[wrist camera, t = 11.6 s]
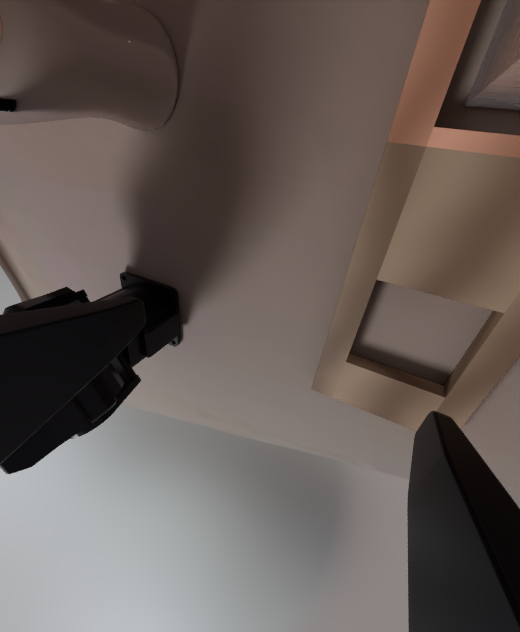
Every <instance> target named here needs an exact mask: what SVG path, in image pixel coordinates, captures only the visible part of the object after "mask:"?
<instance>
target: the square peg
mask: <svg viewBox="0 0 520 632" xmlns="http://www.w3.org/2000/svg"><path fill="white" fill-rule="evenodd" d="M464 106H465V107H478V108H491V109H504V110H517V111H520V0H507V2H506V5H505V7H504V10H503V12H502V15H501V17H500V20H499V22H498V24H497V27H496V29H495V32H494V34H493V37H492V39H491V42H490V44H489V47H488V49H487V51H486V54H485V56H484V59H483V61H482V64H481V66H480V69H479V71H478V73H477V76H476V78H475V81H474V83H473V86H472V88H471V91H470V93H469V96H468V98H467V100H466V103H465V105H464Z"/></svg>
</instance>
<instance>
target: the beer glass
mask: <svg viewBox="0 0 520 632" xmlns="http://www.w3.org/2000/svg"><path fill="white" fill-rule="evenodd" d="M177 92H178V69H177V62H176V57H175V53H174V50H173V46H172V44H171V41H170V39H169V37H168V35H167V33H166V31H165V29H164V28H163V26H162V25H161V23H160V22H159V21H158V20H157V18H156V17H155V16H154V15H153V14H151V13H150V12H149V11H147V10H146V9H144V8H141V7H139V6H136V5H132V4H127V3H122V2H117V1H113V0H0V125H10V124H28V123H38V122H48V121H57V120H66V119H76V118H103V119H108V120H112V121H115V122H118V123H121V124H123V125H126V126H128V127H131V128H134V129H137V130H141V131H152V130H155V129H158V128H159V127H161V126H162V125H163V124H164V123H165V122H166V121H167V120H168V118H169V117H170V115H171V113H172V111H173V109H174V106H175V102H176V98H177Z"/></svg>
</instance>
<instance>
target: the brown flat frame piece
mask: <svg viewBox="0 0 520 632" xmlns="http://www.w3.org/2000/svg"><path fill="white" fill-rule="evenodd" d="M480 2H481V0H430V3H429V6H428V9H427V12H426V16H425V19H424V22H423V25H422V29H421V32H420V35H419V39H418V42H417V45H416V48H415V52H414V55H413V58H412V61H411V65H410V68H409V71H408V74H407V78H406V81H405V84H404V87H403V91H402V94H401V97H400V101H399V104H398V107H397V110H396V114H395V117H394V120H393V123H392V127H391V130H390V133H389V136H388V140H387V143H386V146H385V150H384V153H383V156H382V159H381V163H380V166H379V169H378V172H377V176H376V179H375V182H374V185H373V189H372V192H371V195H370V198H369V202H368V205H367V208H366V212H365V215H364V218H363V221H362V225H361V228H360V231H359V234H358V238H357V241H356V244H355V247H354V251H353V254H352V257H351V261H350V264H349V267H348V270H347V274H346V277H345V280H344V283H343V287H342V290H341V293H340V296H339V300H338V303H337V306H336V310H335V313H334V316H333V319H332V323H331V326H330V329H329V332H328V336H327V339H326V342H325V345H324V349H323V352H322V355H321V358H320V362H319V365H318V368H317V372H316V375H315V378H314V381H313V385H312V388H311V389H313V390H315V391H318V392H320V393H323V394H325V395H328V396H330V397H332V398H335V399H337V400H340V401H342V402H345V403H347V404H350V405H352V406H355V407H357V408H360V409H362V410H365V411H367V412H370V413H372V414H375V415H377V416H380V417H382V418H385V419H387V420H389V421H392V422H394V423H397V424H399V425H402V426H404V427H407V428H409V429H412V430H414V431H417V430H418V428H419V427H420V425H421V424H422V422H423V421H424V419H425V418H426V416H427V415H428V414H429V413H430V412H431V411H437V412H440V413H442V414H445V415H448V416H450V417H451V418H452V419H453V420H454V421H455V422H456V424H457V425H458V427H459V428H461V427H462V426H463V425H464V423H465V422H466V421H467V420H468V418H469V417H470V416H471V415H472V413H473V412H474V411H475V410H476V409H477V407H478V406H479V405H480V404H481V402H482V401H483V400H484V399H485V397H486V396H487V395H488V394H489V392H490V391H491V390H492V389H493V388H494V386H495V385H496V384H497V383H498V381H499V380H500V379H501V378H502V376H503V375H504V374H505V373H506V371H507V370H508V369H509V368H510V367H511V365H512V364H513V363H514V362H515V360H516V359H517V358H518V357H519V355H520V136H518V135H508V134H498V133H488V132H479V131H469V130H459V129H449V128H439V127H434V125H435V122H436V119H437V117H438V114H439V111H440V109H441V106H442V103H443V101H444V98H445V95H446V93H447V90H448V87H449V85H450V82H451V79H452V77H453V74H454V71H455V69H456V66H457V63H458V61H459V58H460V55H461V53H462V50H463V47H464V45H465V42H466V39H467V37H468V34H469V31H470V29H471V26H472V23H473V21H474V18H475V15H476V13H477V10H478V7H479V5H480ZM376 280H380V281H384V282H388V283H391V284H395V285H399V286H403V287H407V288H410V289H414V290H418V291H422V292H425V293H429V294H433V295H437V296H441V297H444V298H448V299H452V300H456V301H460V302H463V303H467V304H471V305H475V306H478V307H482V308H486V309H490V310H494V311H493V312H492V314H491V315H490V317H489V318H488V320H487V321H486V323H485V324H484V326H483V327H482V329H481V330H480V332H479V333H478V335H477V336H476V338H475V339H474V341H473V342H472V344H471V345H470V347H469V348H468V350H467V351H466V353H465V354H464V356H463V357H462V359H461V360H460V362H459V363H458V365H457V366H456V368H455V369H454V371H453V372H452V374H451V375H450V377H449V378H448V380H447V381H446V383H445V384H444V386H443V385H440V384H437V383H434V382H431V381H428V380H425V379H423V378H420V377H417V376H414V375H411V374H408V373H405V372H402V371H400V370H397V369H394V368H391V367H388V366H385V365H382V364H380V363H377V362H374V361H371V360H368V359H365V358H362V357H360V356H357V355H354V354H351V353H349V352H350V349H351V347H352V344H353V341H354V339H355V336H356V333H357V331H358V328H359V325H360V323H361V320H362V317H363V315H364V312H365V309H366V307H367V304H368V301H369V298H370V296H371V293H372V290H373V288H374V285H375V282H376Z"/></svg>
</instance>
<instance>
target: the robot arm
mask: <svg viewBox="0 0 520 632" xmlns="http://www.w3.org/2000/svg"><path fill="white" fill-rule="evenodd" d="M120 280H121V286H122V289H119V290H117V291H115V292H113V293H111V294H109V295H106V296H104V297H102V298H100V299H98V300H96V301H93V302H90V301H89V300H88V298H87V294H86V292H85V291H84V289H83V290H81V291H78V292H76V293H75V291H72V290H71V289H69V288H68V287H65V288H62V289H59V290H57V291H54V292H52V293H49V294H46V295H43V296H40V297H37V298H34V299H31V300H27V301H24V302H21V303H18V304H15V305H12V306H9V307H7V308H5V310H4V313H3V315H0V467H1V469H2V470H3V471H4V472H5V473H6V474H11V473H14V472H17V471H20V470H24V469H27V468H29V467H32V466H33V465H35V464H36V463H37V462H38V461H40V460H41V459H42V458H44V457H45V456H46V455H48V454H49V453H50V452H51V451H53V450H54V449H55V448H57V447H58V446H59V445H61V444H62V443H64V442H65V441H67V440H68V439H70V438H76V437H79V436H82V435H84V434H86V433H88V432H89V431H91V430H93V429H94V428H96V427H97V426H99V425H100V424H101V423H103V422H104V421H105V420H106V419H108V418H109V417H110V416H111V415H112V414H113V413H114V411H115V410H116V409H117V408H118V407H119V406H120V404H121V403H122V402H123V401H124V400H125V399H126V397H127V396H128V395H129V394H130V393H131V392H132V390H133V389H134V388H135V387H136V386H137V385H138V384H139V382H140V381H141V379H140V377H139V376H138V375H136V373H135V372H134V370H133V369H132V367H133V366H135V365H136V364H137V363H139V362H140V361H141V360H142V359H144V358H145V357H148V358H149V357H151V356H152V355H154V354H155V353H156V352H158V351H159V350H160V349H161V348H163V347H164V346H165V345H166V344H170V345H172V346H175V347H176V346H178V345H179V344H180V329H179V309H178V293H177V291H176V290H175V289H174V288H172V287H169V286H166V285H163V284H160V283H157V282H154V281H152V280H149V279H146V278H143V277H140V276H137V275H134V274H131V273H128V272H123V273H121V274H120ZM171 293H172V294H171ZM408 601H409V602H408V604H409V605H408V606H409V632H520V508H519V507H518V506H517V504H516V503H515V502H514V500H513V499H512V498H511V496H510V495H509V494H508V492H507V491H506V490H505V488H504V487H503V486H502V484H501V483H500V482H499V480H498V479H497V478H496V476H495V475H494V473H493V472H492V471H491V469H490V468H489V467H488V465H487V464H486V463H485V461H484V460H483V459H482V457H481V456H480V455H479V453H478V452H477V451H476V449H475V448H474V447H473V445H472V444H471V443H470V441H469V440H468V439H467V437H466V436H465V435H464V433H463V432H462V431H461V429H460V428H459V427H458V425H457V424H456V422H455V421H454V420H453V419H452V418H451V417H450V416H448V415H445V414H442V413H440V412H437V411H431V412H430V413H429V414H428V415H427V416H426V418H425V419H424V421H423V422H422V424H421V425H420V427H419V428H418V430H417V432H416V434H415V438H414V446H413V455H412V463H411V472H410V481H409V490H408Z"/></svg>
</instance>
